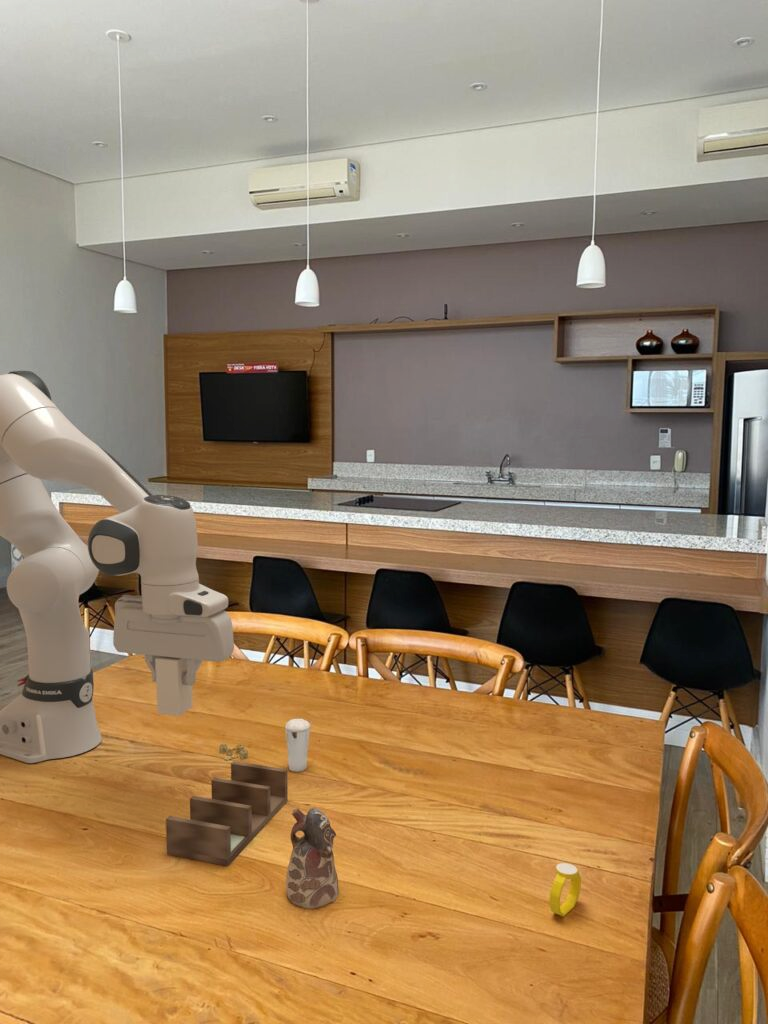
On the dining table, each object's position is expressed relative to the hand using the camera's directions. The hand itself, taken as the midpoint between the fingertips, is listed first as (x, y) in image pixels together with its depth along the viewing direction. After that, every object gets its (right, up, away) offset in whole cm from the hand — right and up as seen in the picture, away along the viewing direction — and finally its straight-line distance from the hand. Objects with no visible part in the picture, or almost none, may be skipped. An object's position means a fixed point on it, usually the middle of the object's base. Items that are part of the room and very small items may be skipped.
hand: (174, 682), depth 128 cm
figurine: (+24, -25, -20) cm, 39 cm away
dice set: (+5, -20, +24) cm, 32 cm away
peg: (0, -5, +1) cm, 5 cm away
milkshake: (+18, -20, +19) cm, 33 cm away
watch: (+57, -25, -23) cm, 67 cm away
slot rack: (+9, -22, -2) cm, 24 cm away
